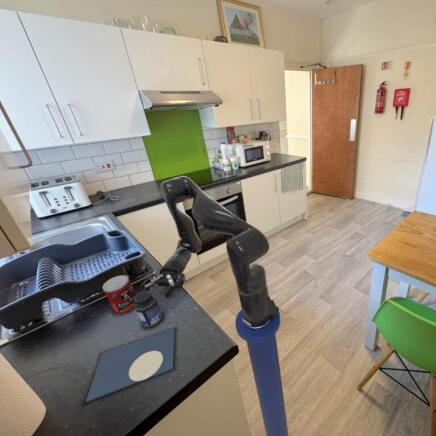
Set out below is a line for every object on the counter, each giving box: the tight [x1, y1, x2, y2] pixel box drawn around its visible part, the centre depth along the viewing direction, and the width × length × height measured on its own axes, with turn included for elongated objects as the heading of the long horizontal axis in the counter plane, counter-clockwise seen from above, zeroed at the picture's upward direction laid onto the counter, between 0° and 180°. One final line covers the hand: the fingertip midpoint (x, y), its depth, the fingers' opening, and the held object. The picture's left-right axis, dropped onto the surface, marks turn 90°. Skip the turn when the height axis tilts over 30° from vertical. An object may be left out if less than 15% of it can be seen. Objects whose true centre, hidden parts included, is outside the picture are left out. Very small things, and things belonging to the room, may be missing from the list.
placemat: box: [85, 328, 176, 403], centre depth 68 cm, size 20×14×1 cm
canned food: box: [102, 274, 137, 314], centre depth 85 cm, size 8×8×11 cm
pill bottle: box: [134, 291, 164, 328], centre depth 78 cm, size 6×6×11 cm
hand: (154, 296), depth 82 cm, fingers open, 8 cm apart
